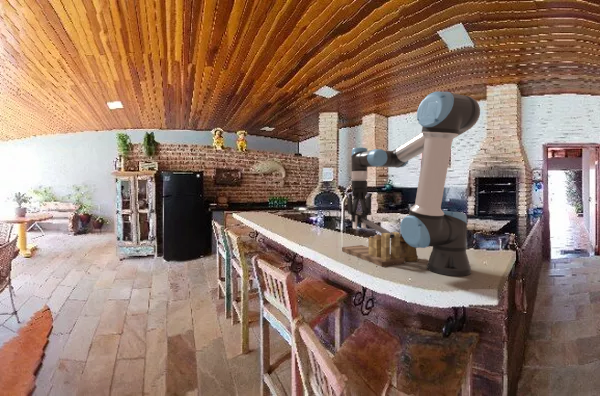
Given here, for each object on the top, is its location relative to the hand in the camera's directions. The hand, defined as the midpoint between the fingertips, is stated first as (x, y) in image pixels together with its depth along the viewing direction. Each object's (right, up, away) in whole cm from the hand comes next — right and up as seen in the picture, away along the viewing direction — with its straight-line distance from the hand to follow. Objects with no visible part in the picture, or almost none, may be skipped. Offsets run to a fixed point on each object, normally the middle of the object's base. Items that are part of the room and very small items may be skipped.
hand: (359, 228), depth 145 cm
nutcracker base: (+4, -12, -8) cm, 15 cm away
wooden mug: (+21, -13, -11) cm, 27 cm away
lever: (+4, +1, -9) cm, 10 cm away
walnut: (+6, -5, -12) cm, 15 cm away
